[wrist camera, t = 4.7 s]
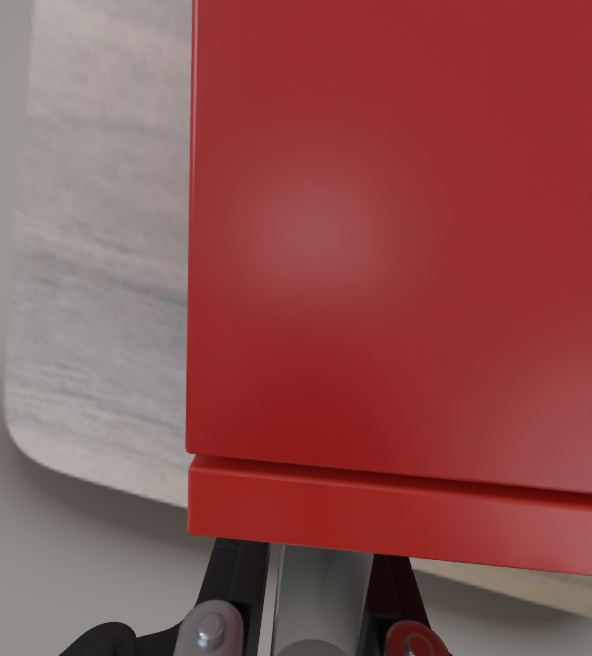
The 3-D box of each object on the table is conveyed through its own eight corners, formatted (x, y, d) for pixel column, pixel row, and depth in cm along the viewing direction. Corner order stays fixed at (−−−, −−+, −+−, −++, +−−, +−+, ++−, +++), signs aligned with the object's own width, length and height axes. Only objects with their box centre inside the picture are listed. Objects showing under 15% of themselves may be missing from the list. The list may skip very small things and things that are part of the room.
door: (626, 468, 16) (1225, 905, 6) (264, 432, 16) (181, 787, 6) (672, 342, 14) (1591, 608, 4) (273, 304, 15) (186, 466, 4)
